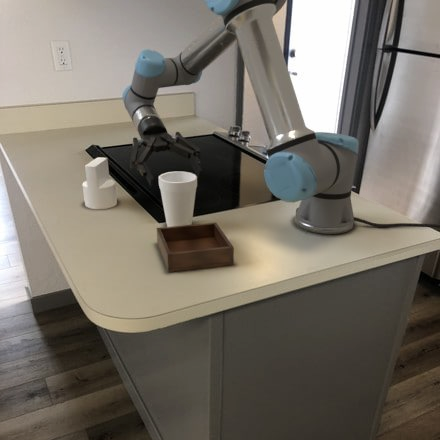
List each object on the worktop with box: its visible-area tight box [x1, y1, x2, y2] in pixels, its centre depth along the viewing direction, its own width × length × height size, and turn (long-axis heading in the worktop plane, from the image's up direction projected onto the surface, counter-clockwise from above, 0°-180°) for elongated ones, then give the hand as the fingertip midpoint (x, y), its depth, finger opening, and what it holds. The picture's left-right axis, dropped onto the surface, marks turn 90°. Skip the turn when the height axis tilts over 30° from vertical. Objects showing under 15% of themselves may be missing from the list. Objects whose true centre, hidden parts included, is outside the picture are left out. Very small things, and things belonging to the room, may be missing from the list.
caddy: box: [156, 222, 235, 273], centre depth 111 cm, size 15×15×4 cm
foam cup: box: [158, 171, 198, 227], centre depth 123 cm, size 10×9×13 cm
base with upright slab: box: [82, 156, 118, 210], centre depth 136 cm, size 9×9×12 cm
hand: (176, 178), depth 128 cm, fingers open, 13 cm apart
